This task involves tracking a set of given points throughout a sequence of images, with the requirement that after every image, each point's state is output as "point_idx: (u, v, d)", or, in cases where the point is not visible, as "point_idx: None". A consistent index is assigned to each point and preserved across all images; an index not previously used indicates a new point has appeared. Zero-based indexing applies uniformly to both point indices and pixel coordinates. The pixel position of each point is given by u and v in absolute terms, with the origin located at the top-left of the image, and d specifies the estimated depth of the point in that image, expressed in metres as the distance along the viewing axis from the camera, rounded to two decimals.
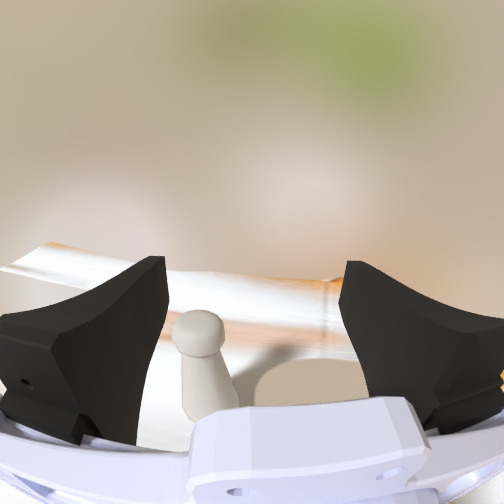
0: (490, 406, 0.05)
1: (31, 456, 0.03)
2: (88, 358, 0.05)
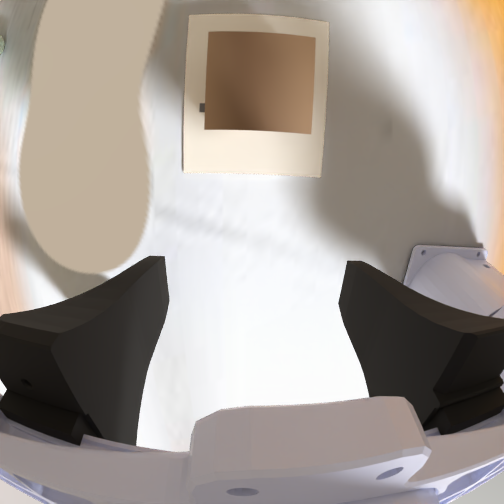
0: (490, 406, 0.05)
1: (31, 456, 0.03)
2: (88, 358, 0.05)
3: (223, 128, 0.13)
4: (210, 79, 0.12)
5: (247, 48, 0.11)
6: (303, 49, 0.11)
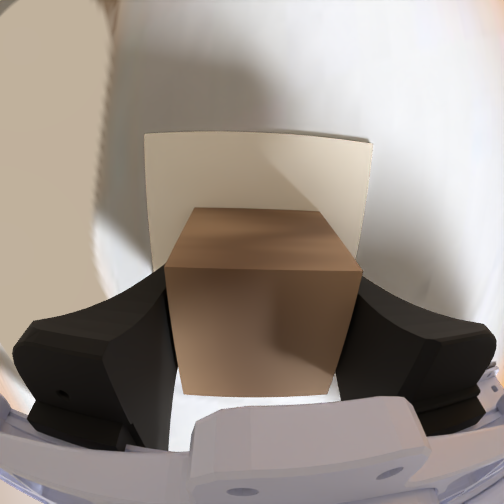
0: (463, 417, 0.04)
1: (31, 456, 0.03)
2: (133, 365, 0.05)
3: (209, 395, 0.09)
4: (181, 343, 0.08)
5: (238, 301, 0.08)
6: (337, 295, 0.08)
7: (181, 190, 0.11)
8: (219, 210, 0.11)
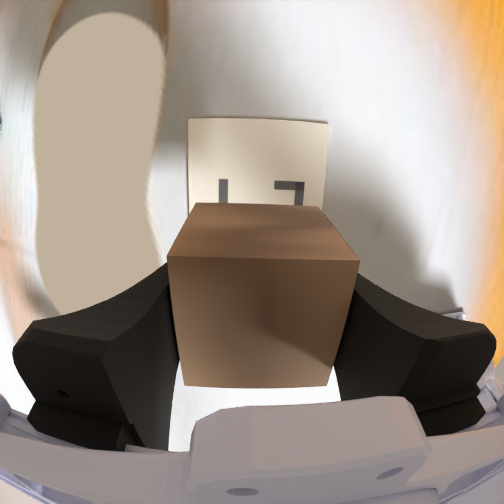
0: (463, 417, 0.04)
1: (31, 456, 0.03)
2: (133, 365, 0.05)
3: (209, 386, 0.09)
4: (182, 333, 0.08)
5: (238, 290, 0.08)
6: (335, 284, 0.08)
7: (210, 153, 0.18)
8: (220, 205, 0.12)
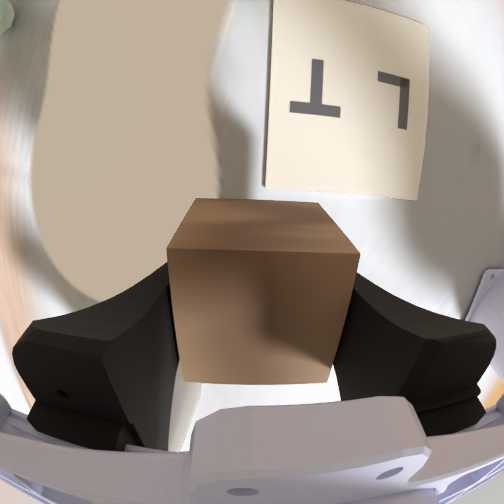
0: (463, 417, 0.04)
1: (31, 456, 0.03)
2: (132, 365, 0.05)
3: (208, 382, 0.09)
4: (182, 327, 0.08)
5: (238, 283, 0.08)
6: (335, 278, 0.08)
7: (302, 28, 0.11)
8: (220, 201, 0.12)
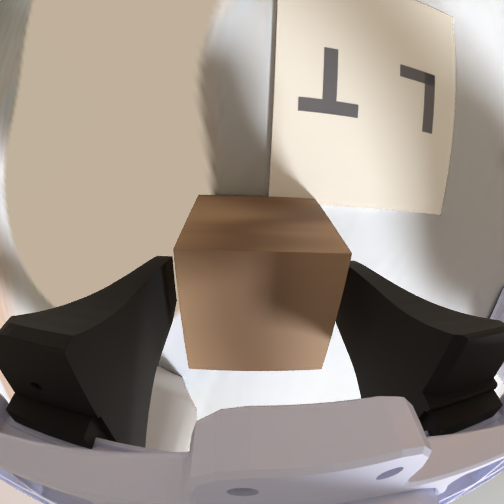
0: (482, 409, 0.05)
1: (31, 456, 0.03)
2: (101, 360, 0.05)
3: (212, 369, 0.10)
4: (187, 319, 0.09)
5: (240, 280, 0.09)
6: (328, 275, 0.09)
7: (312, 12, 0.09)
8: (222, 197, 0.12)
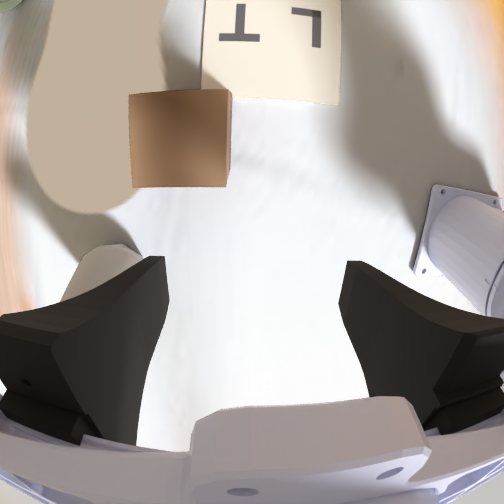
0: (490, 406, 0.05)
1: (31, 456, 0.03)
2: (88, 358, 0.05)
3: (147, 186, 0.15)
4: (133, 142, 0.14)
5: (163, 109, 0.13)
6: (215, 103, 0.13)
7: None
8: None
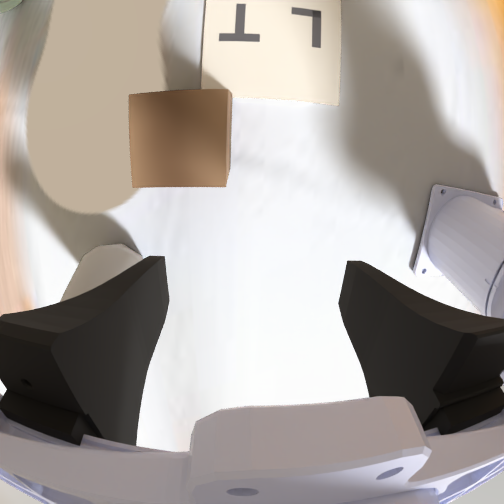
0: (490, 406, 0.05)
1: (31, 456, 0.03)
2: (88, 358, 0.05)
3: (147, 186, 0.15)
4: (133, 141, 0.14)
5: (163, 109, 0.13)
6: (215, 103, 0.13)
7: None
8: None
